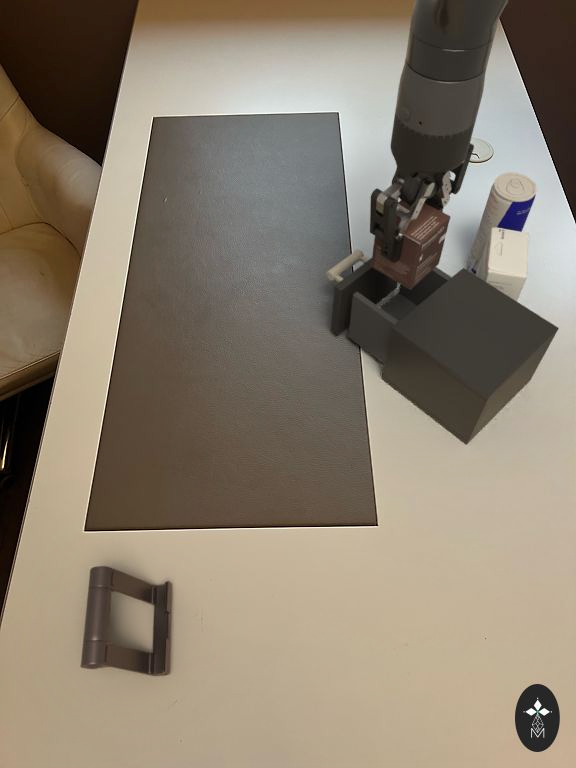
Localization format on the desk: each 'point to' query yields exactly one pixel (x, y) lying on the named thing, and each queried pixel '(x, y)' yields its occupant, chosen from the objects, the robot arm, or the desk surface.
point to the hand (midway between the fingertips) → (409, 242)
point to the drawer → (374, 302)
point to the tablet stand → (98, 615)
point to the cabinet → (465, 353)
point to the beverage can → (503, 211)
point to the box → (415, 247)
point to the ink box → (505, 261)
